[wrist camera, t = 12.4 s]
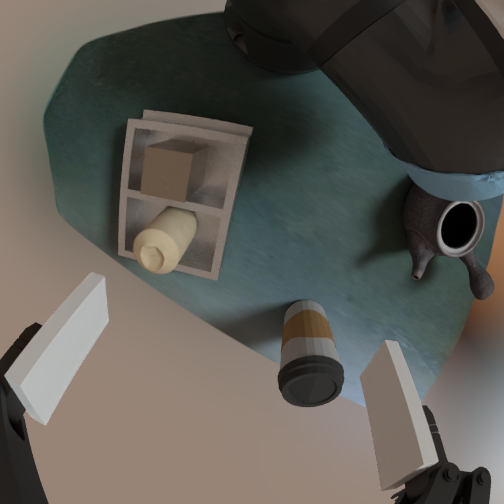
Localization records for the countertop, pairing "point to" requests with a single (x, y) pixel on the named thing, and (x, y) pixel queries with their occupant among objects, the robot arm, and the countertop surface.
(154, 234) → the candle
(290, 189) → the countertop surface
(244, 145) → the divided tray
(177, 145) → the block
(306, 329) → the coffee cup
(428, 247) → the teapot
